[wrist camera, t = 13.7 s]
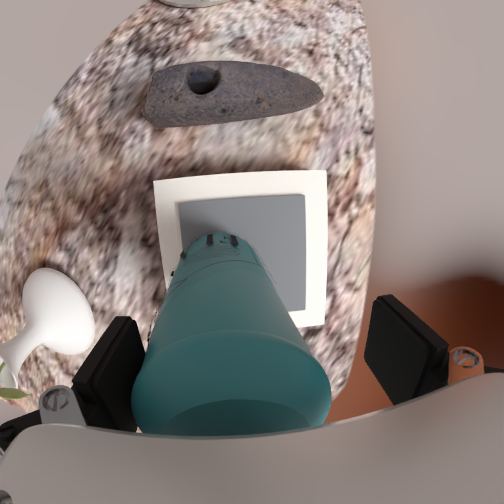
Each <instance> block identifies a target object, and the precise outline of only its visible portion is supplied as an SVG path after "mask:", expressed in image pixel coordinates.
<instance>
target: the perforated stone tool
mask: <svg viewBox="0 0 504 504" xmlns="http://www.w3.org/2000/svg"><path fill="white" fill-rule="evenodd" d="M152 79H153V80H152V83H151V86H150V90H149V92H148V93H147V95H146V100H145V104H144V105H142V107H141V109H140V111H141V113H142V115H143V116H144V117H145V118H147V120H148V121H149V122H150V123H151V124H153V125H154V126H156V127H183V126H198V125H207V124H219V123H227V122H236V121H243V120H251V119H257V118H264V117H271V116H277V115H283V114H288V113H293V112H296V111H300V110H303V109H305V108H308V107H311V106H313V105H314V104H316V103H318V102H319V101H320V100H322V98H323V96H324V95H323V92H322V90H321V89H320V87H319V86H318V85H317V84H316V83H315V82H313V81H312V80H310V79H308V78H306V77H303V76H301V75H299V74H295V73H292V72H290V71H288V70H285V69H284V68H280V67H276V66H271V65H265V64H264V65H263V64H256V63H250V62H239V61H202V62H194V63H186V64H180V65H174V66H171V67H168V68H166V69H164V70H161V71H157V72H155V73H154V74H153V77H152Z"/></svg>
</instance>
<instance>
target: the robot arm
mask: <svg viewBox="0 0 504 504" xmlns="http://www.w3.org/2000/svg"><path fill="white" fill-rule="evenodd" d="M159 1H161V2H163V3H165V4H168V5H171V6H176V7H183V8H196V7H207V6H212V5H217V4H221V3H224V2H228V1H230V0H159ZM448 346H449V344H448V343H447V342H446V341H445V340H444V339H442V338H441V337H440V336H439V335H438V334H437V333H436V332H435V331H434V330H432V329H431V328H430V327H429V326H428V325H427V324H426V323H425V322H423V321H422V320H421V319H420V318H419V317H418V316H417V315H415V314H414V313H413V312H412V311H411V310H410V309H408V308H407V307H406V306H405V305H404V304H402V303H401V302H400V301H399V300H397V298H395V297H394V296H393V295H391V294H390V295H383V296H378V297H377V299H376V300H375V301H374V302H373V306H372V313H371V319H370V325H369V331H368V337H367V342H366V348H365V352H364V359H365V362H366V363H367V365H368V366H369V368H370V369H371V371H372V372H373V374H374V375H375V377H376V378H377V380H378V382H379V383H380V384H381V386H382V388H383V389H384V391H385V392H386V394H387V395H388V397H389V399H390V400H391V402H392V403H393V405H394V406H391V407H388V408H385V409H382V410H379V411H375V412H372V413H368V414H365V415H361V416H357V417H354V418H350V419H345V420H341V421H337V422H332V423H328V424H323V425H318V426H312V427H307V428H301V429H294V430H287V431H280V432H271V433H262V434H250V435H234V436H174V435H158V434H146V433H136V431H137V427H138V425H137V424H136V421H135V419H134V417H133V413H132V408H131V394H132V389H133V385H134V383H135V380H136V377H137V375H138V374H139V372H140V371H141V368H142V364H143V363H142V355H143V361H144V358H145V351H144V350H143V349H144V347H143V344H142V341H141V337H140V334H139V330H138V326H137V323H136V321H135V320H132V318H131V317H130V316H116V317H115V318H114V320H113V321H112V322H111V324H110V325H109V327H108V328H107V329H106V331H105V332H104V334H103V335H102V336H101V338H100V339H99V341H98V342H97V344H96V345H95V346H94V348H93V349H92V351H91V352H90V354H89V355H88V357H87V358H86V360H85V361H84V363H83V364H82V366H81V367H80V369H79V370H78V372H77V373H76V375H75V376H74V378H73V380H72V382H73V385H72V387H71V388H69V387H67V386H64V385H57V386H53V387H51V388H49V389H47V390H46V391H44V392H43V394H42V395H41V396H40V399H39V410H36V411H34V412H31V413H28V414H26V415H23V416H21V417H18V418H15V419H13V420H10V421H7V422H5V423H3V424H2V425H1V426H0V504H504V369H498V368H492V367H486V366H484V365H483V359H482V357H481V355H480V354H479V353H478V352H476V351H475V350H473V349H471V348H467V347H458V348H455V349H453V350H452V351H451V352H450V353H449V352H447V349H448Z"/></svg>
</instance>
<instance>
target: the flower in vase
mask: <svg viewBox="0 0 504 504" xmlns="http://www.w3.org/2000/svg"><path fill="white" fill-rule="evenodd" d="M22 300H23V310H24V315H25V318H26V322H27V324H26V326H25V327H24V329H23V330H22V331H21V332H20V333H19V334H18V335H16V336H15V337H14V338H12V339H11V340H9V341H8V342H6V343H4V344H2V345H0V384H1V385H2V386H3V387H4V388H0V397H2V398H6V399H21V398H24V397H26V396H28V395H30V394H25V393H24V392H22V391H20V390H18V389H17V388H18V373H19V369H20V367H21V365H22V363H23V362H24V360H25V359H26V357H27V356H28V355H29V353H30V352H31V351H32V350H33V349H34V348H35V347H37V346H38V345H40V344H43V345H45V346H46V347H48V348H50V349H51V350H53V351H55V352H58V353H62V354H66V355H76V354H79V353H82V352H84V351H86V350H87V349H88V348H89V347H90V346H91V344H92V342H93V339H94V335H95V324H94V318H93V313H92V310H91V307H90V305H89V303H88V301H87V299H86V297H85V295H84V294H83V292H82V291H81V290H80V288H79V287H78V286H77V285H76V284H75V283H74V282H73V281H72V280H71V279H70V278H69V277H68V276H66V275H65V274H63V273H61V272H59V271H57V270H54V269H51V268H39V269H37V270H35V271H33V272H32V273H31V274H30V276H29V277H28V279H27V281H26V283H25V285H24V288H23V297H22Z"/></svg>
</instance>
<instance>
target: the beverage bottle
mask: <svg viewBox="0 0 504 504" xmlns="http://www.w3.org/2000/svg"><path fill="white" fill-rule="evenodd" d="M210 232H211V231H210ZM232 233H233V232H232ZM195 238H196V237H195ZM192 240H193V239H192ZM245 240H246V239H245ZM250 245H252V244H250ZM250 245H249V244H248V243H247V241H244V240H243V239H242V238H240V237H238V234H237V236H236V235H235V234H234V235H233V234H230V233H229V231H228V233H224V232H212V233H209V234H208V233H207V232H206V234H205V235H204V233H203V236H201V237H200V236H199V238H197V239H196V240H194V241H193V242H192V241H191V244H190V245H188V247H187V248H186V249H185V250H183V251H182V252H181V253H180V260H179V263H178V265H177V268H176V270H175V271H172V273H171V275H170V276H172V277H173V278H172V280H171V283H170V285H169V284H168V286H169V288H167V293H166V296H165V298H164V299H163V300H164V301H163V302H162V306H161V309H160V311H159V314H158V317H157V320H156V319H155V320H156V321H155V325H154V328H153V331H152V334H151V337H150V338H149V337H148V340H147V342H148V348H147V351H146V354H145V358H144V361H143V355H142V363H143V364H142V368H141V371H140V372H139V374H138V375H137V377H136V380H135V383H134V385H133V389H132V394H131V408H132V413H133V417H134V419H135V421H136V424H137V425H138V427H139V429H140V430H141V432H142V433H146V434H158V435H174V436H234V435H250V434H262V433H271V432H280V431H287V430H294V429H301V428H307V427H312V426H318V425H322V424H323V422H324V421H325V418H326V416H327V414H328V411H329V408H330V404H331V387H330V382H329V379H328V377H327V375H326V373H325V371H324V370H323V368H322V366H321V365H320V363H319V362H318V361H317V360H316V359H315V358H314V357H313V355H312V354H311V352H310V350H309V348H308V347H307V345H306V343H305V341H304V340H303V338H302V336H301V334H300V332H299V331H298V329H297V327H296V325H295V324H294V322H293V320H292V318H291V317H290V315H289V313H288V311H287V310H286V308H285V306H284V304H283V303H282V301H281V299H280V297H279V296H278V294H277V292H276V290H275V288H274V285H273V283H272V281H271V279H270V278H269V276H268V274H267V272H269V271H267V270H268V269H267V270H265V269H264V267H263V265H262V263H261V261H260V260H259V258H258V256H257V254H256V252H255V251H256V250H255V249H254V248H252V247H251V246H250ZM252 246H253V245H252ZM185 247H186V246H185ZM254 250H255V251H254ZM258 254H259V253H258ZM259 256H260V255H259ZM261 260H262V258H261ZM262 262H263V260H262ZM264 265H265V264H264ZM266 268H267V267H266ZM266 271H267V272H266ZM174 272H175V273H174ZM270 275H271V274H270ZM271 277H272V276H271ZM170 278H171V277H170ZM274 281H275V280H274ZM169 282H170V281H169ZM275 284H276V283H275ZM165 291H166V288H165ZM164 294H165V292H164ZM159 303H160V302H159ZM157 308H158V307H157ZM159 308H160V307H159ZM156 310H157V309H156ZM157 311H158V310H157ZM157 311H156V313H157ZM152 320H153V319H152ZM150 325H152V324H150ZM150 327H151V326H150ZM150 327H149V328H150ZM149 330H151V329H149ZM149 333H151V332H150V331H149ZM148 336H150V334H148ZM149 339H150V341H149ZM145 340H146V339H145ZM144 344H145V343H144ZM143 350H144V349H143Z"/></svg>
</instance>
